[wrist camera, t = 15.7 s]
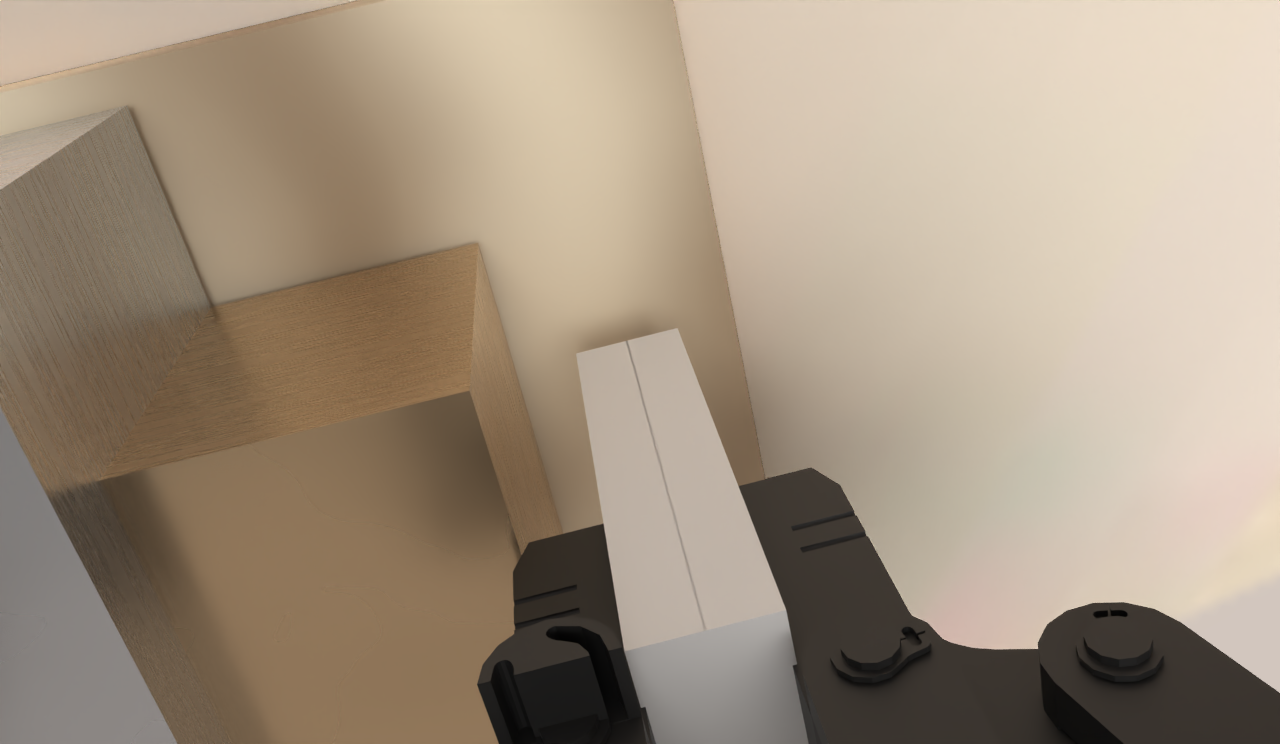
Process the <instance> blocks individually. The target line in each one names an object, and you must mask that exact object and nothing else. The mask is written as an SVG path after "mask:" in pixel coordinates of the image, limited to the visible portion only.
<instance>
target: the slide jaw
mask: <svg viewBox="0 0 1280 744" xmlns="http://www.w3.org/2000/svg"><path fill="white" fill-rule="evenodd" d="M560 534H563V531H562V527H561V524H560V520H559V517H558V514H557V510H556V507H555V503H554V500H553V496H552V493H551V490H550V486H549V483H548V479H547V476H546V473H545V469H544V466H543V462H542V459H541V455H540V452H539V449H538V445H537V442H536V438H535V435H534V431H533V428H532V425H531V421H530V418H529V414H528V411H527V408H526V404H525V401H524V397H523V394H522V390H521V387H520V384H519V380H518V377H517V373H516V370H515V367H514V363H513V360H512V356H511V353H510V349H509V346H508V343H507V339H506V336H505V332H504V329H503V326H502V322H501V319H500V315H499V312H498V308H497V305H496V302H495V298H494V295H493V291H492V288H491V285H490V281H489V278H488V274H487V271H486V267H485V264H484V261H483V257H482V254H481V250H480V247H479V243H475V244H471V245H467V246H463V247H459V248H455V249H450V250H446V251H442V252H438V253H434V254H430V255H426V256H422V257H417V258H413V259H409V260H405V261H401V262H397V263H393V264H389V265H384V266H380V267H376V268H372V269H368V270H364V271H360V272H355V273H351V274H347V275H343V276H339V277H335V278H331V279H327V280H322V281H318V282H314V283H310V284H306V285H302V286H298V287H294V288H289V289H285V290H281V291H277V292H273V293H269V294H265V295H260V296H256V297H252V298H248V299H244V300H240V301H236V302H232V303H227V304H223V305H219V306H215V307H210V304H209V302H208V299H207V297H206V295H205V292H204V290H203V287H202V285H201V283H200V280H199V278H198V275H197V273H196V270H195V268H194V266H193V263H192V261H191V258H190V256H189V254H188V251H187V249H186V246H185V244H184V242H183V239H182V237H181V234H180V232H179V229H178V227H177V225H176V222H175V220H174V217H173V215H172V213H171V210H170V208H169V205H168V203H167V201H166V198H165V196H164V193H163V191H162V189H161V186H160V184H159V181H158V179H157V176H156V174H155V172H154V169H153V167H152V164H151V162H150V160H149V157H148V155H147V152H146V150H145V148H144V145H143V143H142V140H141V138H140V135H139V133H138V131H137V128H136V126H135V123H134V121H133V119H132V116H131V114H130V111H129V109H128V107H127V106H122V107H118V108H114V109H110V110H106V111H102V112H97V113H93V114H89V115H85V116H81V117H77V118H72V119H68V120H64V121H60V122H56V123H52V124H47V125H43V126H39V127H35V128H31V129H27V130H22V131H18V132H14V133H10V134H6V135H2V136H0V744H499V743H498V740H497V737H496V735H495V732H494V729H493V727H492V724H491V721H490V719H489V716H488V713H487V710H486V708H485V705H484V702H483V700H482V697H481V694H480V692H479V689H478V686H477V683H478V679H479V676H480V672H481V669H482V665H483V663H484V662H485V661H486V660H487V658H488V657H489V656H490V655H491V653H492V652H493V651H494V650H495V648H496V647H497V646H498V645H499V644H501V643H502V642H503V641H505V640H506V639H508V638H509V637H511V636H512V635H513V634H514V630H515V626H514V606H515V605H514V601H513V570H514V569H515V567H516V565H517V563H518V561H519V559H520V558H521V556H522V554H523V552H524V550H525V549H526V547H527V545H528V543H529V542H533V541H537V540H541V539H545V538H549V537H552V536H556V535H560Z"/></svg>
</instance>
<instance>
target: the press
mask: <svg viewBox="0 0 1280 744" xmlns="http://www.w3.org/2000/svg"><path fill="white" fill-rule="evenodd" d="M122 106H127V107H128V109H129V111H130V114H131V116H132V119H133V121H134V123H135V126H136V128H137V131H138V133H139V135H140V138H141V140H142V143H143V145H144V148H145V150H146V152H147V155H148V157H149V160H150V162H151V164H152V167H153V169H154V172H155V174H156V176H157V179H158V181H159V184H160V186H161V189H162V191H163V193H164V196H165V198H166V201H167V203H168V205H169V208H170V210H171V213H172V215H173V217H174V220H175V222H176V225H177V227H178V229H179V232H180V234H181V237H182V239H183V242H184V244H185V246H186V249H187V251H188V254H189V256H190V258H191V261H192V263H193V266H194V268H195V270H196V273H197V275H198V278H199V280H200V283H201V285H202V287H203V290H204V292H205V295H206V297H207V299H208V302H209V304H210V307H215V306H219V305H223V304H227V303H232V302H236V301H240V300H244V299H248V298H252V297H256V296H260V295H265V294H269V293H273V292H277V291H281V290H285V289H289V288H294V287H298V286H302V285H306V284H310V283H314V282H318V281H322V280H327V279H331V278H335V277H339V276H343V275H347V274H351V273H355V272H360V271H364V270H368V269H372V268H376V267H380V266H384V265H389V264H393V263H397V262H401V261H405V260H409V259H413V258H417V257H422V256H426V255H430V254H434V253H438V252H442V251H446V250H450V249H455V248H459V247H463V246H467V245H471V244H475V243H479V247H480V250H481V254H482V257H483V261H484V264H485V267H486V271H487V274H488V278H489V281H490V285H491V288H492V291H493V295H494V298H495V302H496V305H497V308H498V312H499V315H500V319H501V322H502V326H503V329H504V332H505V336H506V339H507V343H508V346H509V349H510V353H511V356H512V360H513V363H514V367H515V370H516V373H517V377H518V380H519V384H520V387H521V390H522V394H523V397H524V401H525V404H526V408H527V411H528V414H529V418H530V421H531V425H532V428H533V431H534V435H535V438H536V442H537V445H538V449H539V452H540V455H541V459H542V462H543V466H544V469H545V473H546V476H547V479H548V483H549V486H550V490H551V493H552V496H553V500H554V503H555V507H556V510H557V514H558V517H559V520H560V524H561V527H562V531H563V534H564V533H568V532H572V531H576V530H580V529H584V528H588V527H592V526H596V525H600V524H603V517H602V511H601V505H600V498H599V492H598V486H597V480H596V474H595V468H594V462H593V456H592V449H591V443H590V437H589V431H588V425H587V419H586V413H585V406H584V400H583V394H582V388H581V382H580V376H579V370H578V363H577V357H576V353H580V352H584V351H588V350H592V349H596V348H600V347H604V346H608V345H612V344H616V343H620V342H624V341H628V340H632V339H636V338H640V337H644V336H648V335H651V334H655V333H659V332H663V331H667V330H671V329H675V328H678V331H679V333H680V336H681V339H682V341H683V344H684V346H685V349H686V352H687V354H688V357H689V359H690V362H691V364H692V367H693V370H694V372H695V375H696V377H697V380H698V383H699V385H700V388H701V390H702V393H703V396H704V398H705V401H706V403H707V406H708V409H709V411H710V414H711V416H712V419H713V422H714V424H715V427H716V429H717V432H718V435H719V437H720V440H721V442H722V445H723V448H724V450H725V453H726V455H727V458H728V461H729V463H730V466H731V468H732V471H733V473H734V476H735V479H736V481H737V484H738V486H741V485H745V484H749V483H752V482H756V481H760V480H764V479H765V476H764V470H763V465H762V460H761V455H760V450H759V444H758V439H757V434H756V429H755V424H754V418H753V413H752V408H751V403H750V398H749V392H748V387H747V382H746V377H745V372H744V366H743V361H742V356H741V351H740V346H739V340H738V335H737V330H736V325H735V320H734V314H733V309H732V304H731V299H730V294H729V288H728V283H727V278H726V273H725V268H724V262H723V257H722V252H721V247H720V242H719V236H718V231H717V226H716V221H715V216H714V210H713V205H712V200H711V195H710V190H709V184H708V179H707V174H706V169H705V164H704V158H703V153H702V148H701V143H700V137H699V132H698V127H697V122H696V117H695V111H694V106H693V101H692V96H691V91H690V85H689V80H688V75H687V70H686V65H685V59H684V54H683V49H682V44H681V39H680V33H679V28H678V23H677V18H676V13H675V7H674V2H673V0H358V1H354V2H350V3H346V4H342V5H337V6H333V7H329V8H325V9H321V10H317V11H312V12H308V13H304V14H300V15H296V16H291V17H287V18H283V19H279V20H275V21H271V22H266V23H262V24H258V25H254V26H250V27H245V28H241V29H237V30H233V31H229V32H225V33H220V34H216V35H212V36H208V37H204V38H200V39H195V40H191V41H187V42H183V43H179V44H174V45H170V46H166V47H162V48H158V49H154V50H149V51H145V52H141V53H137V54H133V55H129V56H124V57H120V58H116V59H112V60H108V61H103V62H99V63H95V64H91V65H87V66H83V67H78V68H74V69H70V70H66V71H62V72H57V73H53V74H49V75H45V76H41V77H37V78H32V79H28V80H24V81H20V82H16V83H12V84H7V85H3V86H0V136H2V135H6V134H10V133H14V132H18V131H22V130H27V129H31V128H35V127H39V126H43V125H47V124H52V123H56V122H60V121H64V120H68V119H72V118H77V117H81V116H85V115H89V114H93V113H97V112H102V111H106V110H110V109H114V108H118V107H122Z"/></svg>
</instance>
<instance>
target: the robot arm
mask: <svg viewBox="0 0 1280 744" xmlns="http://www.w3.org/2000/svg"><path fill="white" fill-rule="evenodd" d="M576 357H577V363H578V370H579V376H580V382H581V388H582V394H583V400H584V406H585V413H586V419H587V425H588V431H589V437H590V443H591V449H592V456H593V462H594V468H595V474H596V480H597V486H598V492H599V498H600V505H601V511H602V517H603V524H600V525H596V526H592V527H588V528H584V529H580V530H576V531H572V532H568V533H564V534H560V535H556V536H552V537H549V538H545V539H541V540H537V541H533V542H529V543H528V545H527V547H526V549H525V550H524V552H523V554H522V556H521V558H520V559H519V561H518V563H517V565H516V567H515V569H514V570H513V601H514V605H515V606H514V626H515V630H514V634H513V635H512V636H511V637H509V638H508V639H506V640H505V641H503V642H502V643H501V644H499V645H498V646H497V647H496V648H495V650H494V651H493V652H492V653H491V655H490V656H489V657H488V658H487V660H486V661H485V662H484V663H483V665H482V669H481V672H480V676H479V679H478V683H477V686H478V689H479V692H480V694H481V697H482V700H483V702H484V705H485V708H486V710H487V713H488V716H489V719H490V721H491V724H492V727H493V729H494V732H495V735H496V737H497V740H498V743H499V744H1280V693H1279V692H1277V691H1276V690H1275V689H1273V688H1272V687H1271V686H1269V685H1268V684H1266V683H1265V682H1263V681H1262V680H1261V679H1259V678H1258V677H1256V676H1255V675H1253V674H1252V673H1251V672H1249V671H1248V670H1247V669H1245V668H1244V667H1242V666H1241V665H1240V664H1238V663H1237V662H1235V661H1234V660H1233V659H1231V658H1229V657H1228V656H1227V655H1226V654H1224V653H1223V652H1221V651H1220V650H1219V649H1217V648H1216V647H1214V646H1213V645H1211V644H1210V643H1209V642H1207V641H1206V640H1205V639H1203V638H1202V637H1200V636H1199V635H1197V634H1196V633H1195V632H1193V631H1192V630H1191V629H1189V628H1188V627H1186V626H1185V625H1183V624H1182V623H1181V622H1179V621H1177V620H1175V619H1173V618H1171V617H1169V616H1167V615H1165V614H1163V613H1161V612H1159V611H1157V610H1155V609H1152V608H1147V607H1143V606H1138V605H1133V604H1129V603H1124V602H1121V603H1092V604H1089V605H1085V606H1082V607H1078V608H1075V609H1071V610H1068V611H1066V612H1064V613H1063V614H1062V615H1060V616H1059V617H1057V618H1056V619H1054V620H1053V621H1052V622H1050V623H1049V624H1047V626H1046V628H1045V630H1044V632H1043V634H1042V636H1041V638H1040V640H1039V642H1038V649H1009V650H994V649H979V648H970V647H966V646H962V645H958V644H954V643H950V642H948V641H946V640H944V639H942V638H941V637H940V636H939V635H938V634H937V633H936V632H935V631H934V630H933V628H932V627H931V626H930V625H929V624H928V623H927V622H924V621H922V620H920V619H918V618H916V617H913V616H912V615H911V614H910V612H909V611H908V609H907V607H906V605H905V603H904V602H903V600H902V598H901V596H900V594H899V593H898V591H897V589H896V587H895V585H894V583H893V582H892V580H891V578H890V576H889V574H888V572H887V571H886V569H885V567H884V565H883V563H882V561H881V560H880V558H879V556H878V554H877V552H876V550H875V549H874V547H873V545H872V543H871V541H870V539H869V538H868V536H866V534H865V530H864V528H863V527H862V525H861V523H860V521H859V519H858V517H857V516H855V514H854V510H853V508H852V506H851V505H850V503H849V501H848V499H847V497H846V496H845V494H844V492H843V490H842V488H841V486H840V485H839V484H837V483H835V482H834V481H832V480H831V479H829V478H827V477H826V476H824V475H822V474H821V473H819V472H818V471H816V470H814V469H813V468H807V469H803V470H800V471H796V472H792V473H788V474H784V475H780V476H776V477H772V478H768V479H764V480H760V481H756V482H752V483H749V484H745V485H741V486H738V484H737V481H736V479H735V476H734V473H733V471H732V468H731V466H730V463H729V461H728V458H727V455H726V453H725V450H724V448H723V445H722V442H721V440H720V437H719V435H718V432H717V429H716V427H715V424H714V422H713V419H712V416H711V414H710V411H709V409H708V406H707V403H706V401H705V398H704V396H703V393H702V390H701V388H700V385H699V383H698V380H697V377H696V375H695V372H694V370H693V367H692V364H691V362H690V359H689V357H688V354H687V352H686V349H685V346H684V344H683V341H682V339H681V336H680V333H679V331H678V328H675V329H671V330H667V331H663V332H659V333H655V334H651V335H648V336H644V337H640V338H636V339H632V340H628V341H624V342H620V343H616V344H612V345H608V346H604V347H600V348H596V349H592V350H588V351H584V352H580V353H576Z"/></svg>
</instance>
